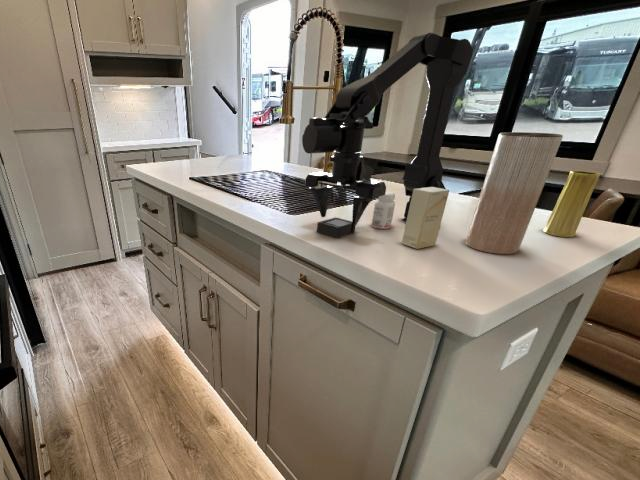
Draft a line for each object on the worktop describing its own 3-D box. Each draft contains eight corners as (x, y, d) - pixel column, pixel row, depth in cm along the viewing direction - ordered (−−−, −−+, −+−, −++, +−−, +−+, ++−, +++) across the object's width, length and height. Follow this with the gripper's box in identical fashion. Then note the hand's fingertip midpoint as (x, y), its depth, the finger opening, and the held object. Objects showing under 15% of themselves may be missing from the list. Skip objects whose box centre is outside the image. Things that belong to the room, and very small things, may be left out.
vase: (570, 231, 89) (597, 171, 82) (578, 239, 84) (608, 175, 77) (540, 228, 91) (564, 169, 84) (546, 235, 86) (572, 173, 79)
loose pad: (350, 233, 88) (352, 223, 87) (339, 236, 85) (340, 226, 84) (335, 228, 91) (336, 219, 90) (323, 232, 88) (324, 222, 87)
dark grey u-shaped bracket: (354, 232, 88) (356, 222, 87) (337, 238, 84) (338, 227, 83) (334, 226, 93) (335, 217, 91) (316, 232, 89) (317, 222, 87)
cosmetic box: (416, 249, 78) (430, 192, 72) (400, 243, 81) (412, 188, 75) (436, 245, 80) (451, 189, 74) (419, 239, 84) (432, 185, 78)
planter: (507, 241, 82) (547, 132, 72) (526, 256, 74) (575, 136, 63) (459, 237, 85) (491, 131, 74) (472, 252, 76) (511, 135, 65)
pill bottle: (387, 224, 95) (394, 191, 91) (392, 229, 90) (399, 195, 86) (369, 223, 95) (374, 191, 91) (373, 228, 91) (379, 195, 87)
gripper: (406, 152, 78) (391, 223, 85) (335, 146, 90) (328, 208, 98) (377, 156, 71) (364, 232, 79) (306, 149, 84) (301, 215, 91)
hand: (338, 220), depth 87 cm, fingers open, 9 cm apart
